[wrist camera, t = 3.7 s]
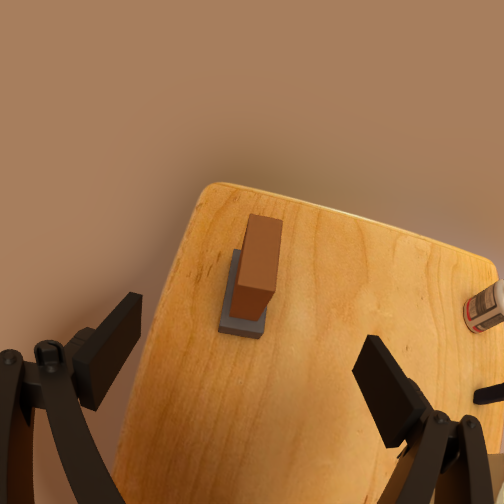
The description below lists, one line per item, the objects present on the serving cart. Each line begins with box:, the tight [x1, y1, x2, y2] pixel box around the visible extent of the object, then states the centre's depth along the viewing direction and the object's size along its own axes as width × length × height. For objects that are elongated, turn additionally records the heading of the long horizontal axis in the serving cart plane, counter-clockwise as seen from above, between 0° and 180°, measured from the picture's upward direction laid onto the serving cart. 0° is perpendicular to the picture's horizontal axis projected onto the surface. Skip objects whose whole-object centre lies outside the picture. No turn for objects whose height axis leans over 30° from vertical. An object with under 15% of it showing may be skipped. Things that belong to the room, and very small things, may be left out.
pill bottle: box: [464, 279, 504, 333], centre depth 29 cm, size 5×5×10 cm
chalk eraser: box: [218, 214, 283, 339], centre depth 26 cm, size 4×8×10 cm, turn 172°
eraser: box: [473, 383, 504, 405], centre depth 24 cm, size 2×2×7 cm
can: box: [430, 454, 504, 504], centre depth 16 cm, size 9×9×12 cm
